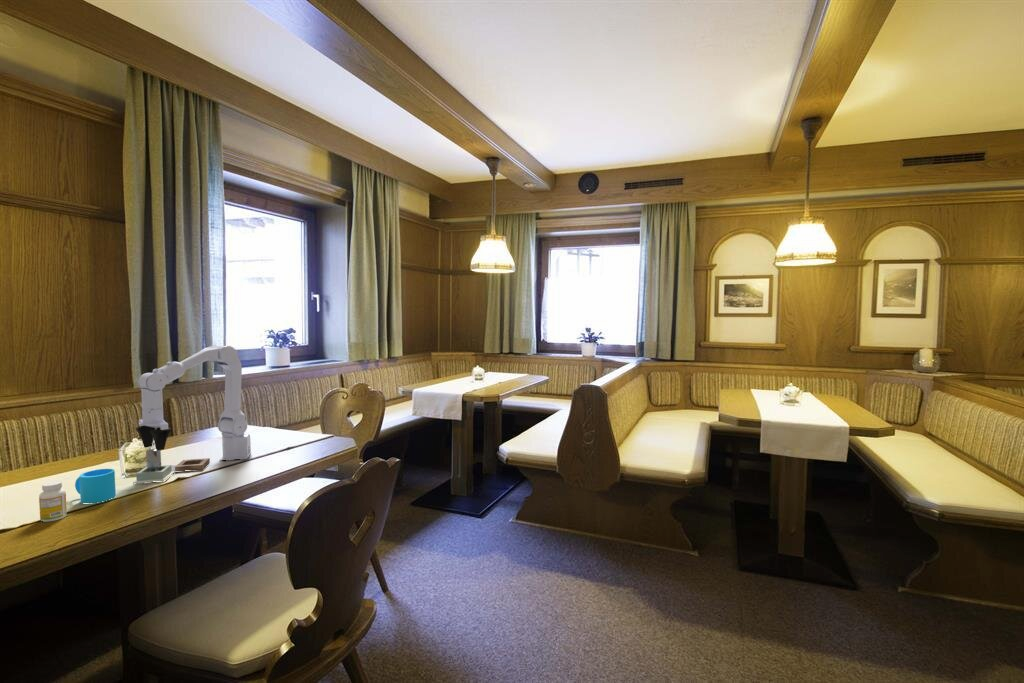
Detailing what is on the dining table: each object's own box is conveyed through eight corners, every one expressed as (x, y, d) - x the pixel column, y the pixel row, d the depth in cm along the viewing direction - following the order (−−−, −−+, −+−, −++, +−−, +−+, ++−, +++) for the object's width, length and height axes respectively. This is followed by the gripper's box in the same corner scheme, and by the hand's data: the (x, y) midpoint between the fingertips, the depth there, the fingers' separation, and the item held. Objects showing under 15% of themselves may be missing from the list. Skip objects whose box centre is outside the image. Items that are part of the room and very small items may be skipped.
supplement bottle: (51, 514, 140) (49, 480, 139) (72, 513, 140) (70, 479, 140) (34, 522, 134) (32, 487, 134) (56, 522, 135) (54, 486, 134)
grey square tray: (174, 473, 175) (174, 464, 175) (164, 481, 167) (164, 472, 166) (144, 475, 173) (144, 466, 173) (133, 484, 164) (132, 474, 164)
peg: (163, 473, 172) (162, 448, 172) (159, 477, 168) (157, 451, 168) (150, 475, 171) (148, 449, 170) (145, 478, 167) (143, 452, 167)
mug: (122, 495, 154) (121, 469, 154) (96, 505, 146) (95, 478, 146) (90, 493, 156) (89, 467, 156) (62, 502, 148) (61, 475, 148)
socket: (209, 463, 187) (209, 458, 187) (202, 470, 179) (202, 464, 179) (183, 465, 185) (183, 460, 184) (174, 472, 176) (174, 466, 176)
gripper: (127, 408, 169) (129, 448, 169) (151, 412, 162) (152, 454, 162) (151, 405, 175) (152, 443, 176) (174, 409, 168) (175, 448, 169)
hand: (154, 448), depth 169 cm, fingers open, 7 cm apart
